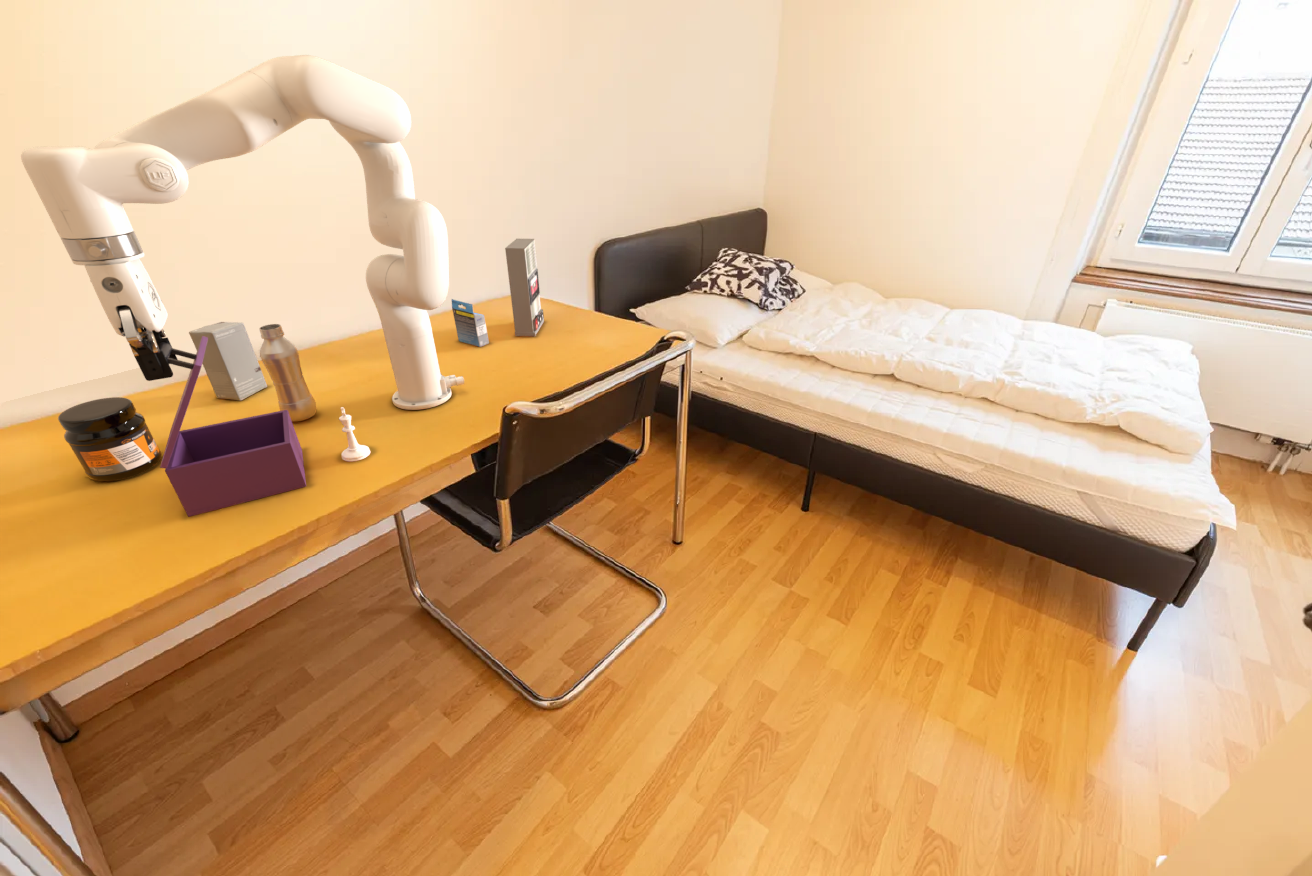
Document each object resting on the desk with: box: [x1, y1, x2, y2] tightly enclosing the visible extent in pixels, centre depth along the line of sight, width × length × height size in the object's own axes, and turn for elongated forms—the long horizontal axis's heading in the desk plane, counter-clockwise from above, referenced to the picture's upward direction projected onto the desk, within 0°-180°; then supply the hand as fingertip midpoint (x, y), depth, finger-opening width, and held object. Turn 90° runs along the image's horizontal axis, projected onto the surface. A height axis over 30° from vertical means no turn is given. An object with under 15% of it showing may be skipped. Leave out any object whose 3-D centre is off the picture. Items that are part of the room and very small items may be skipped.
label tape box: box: [451, 298, 490, 348], centre depth 155 cm, size 9×4×12 cm, turn 58°
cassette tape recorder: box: [504, 238, 545, 338], centre depth 163 cm, size 14×6×25 cm, turn 179°
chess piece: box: [338, 406, 371, 462], centre depth 103 cm, size 5×5×10 cm
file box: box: [164, 410, 307, 517], centre depth 96 cm, size 17×14×9 cm
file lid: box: [157, 336, 208, 470], centre depth 87 cm, size 18×14×6 cm
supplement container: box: [57, 396, 162, 482], centre depth 98 cm, size 10×10×12 cm
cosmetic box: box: [188, 321, 268, 401], centre depth 125 cm, size 8×7×16 cm
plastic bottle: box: [259, 323, 318, 422], centre depth 114 cm, size 6×7×20 cm
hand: (162, 369), depth 85 cm, fingers closed on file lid, 5 cm apart
